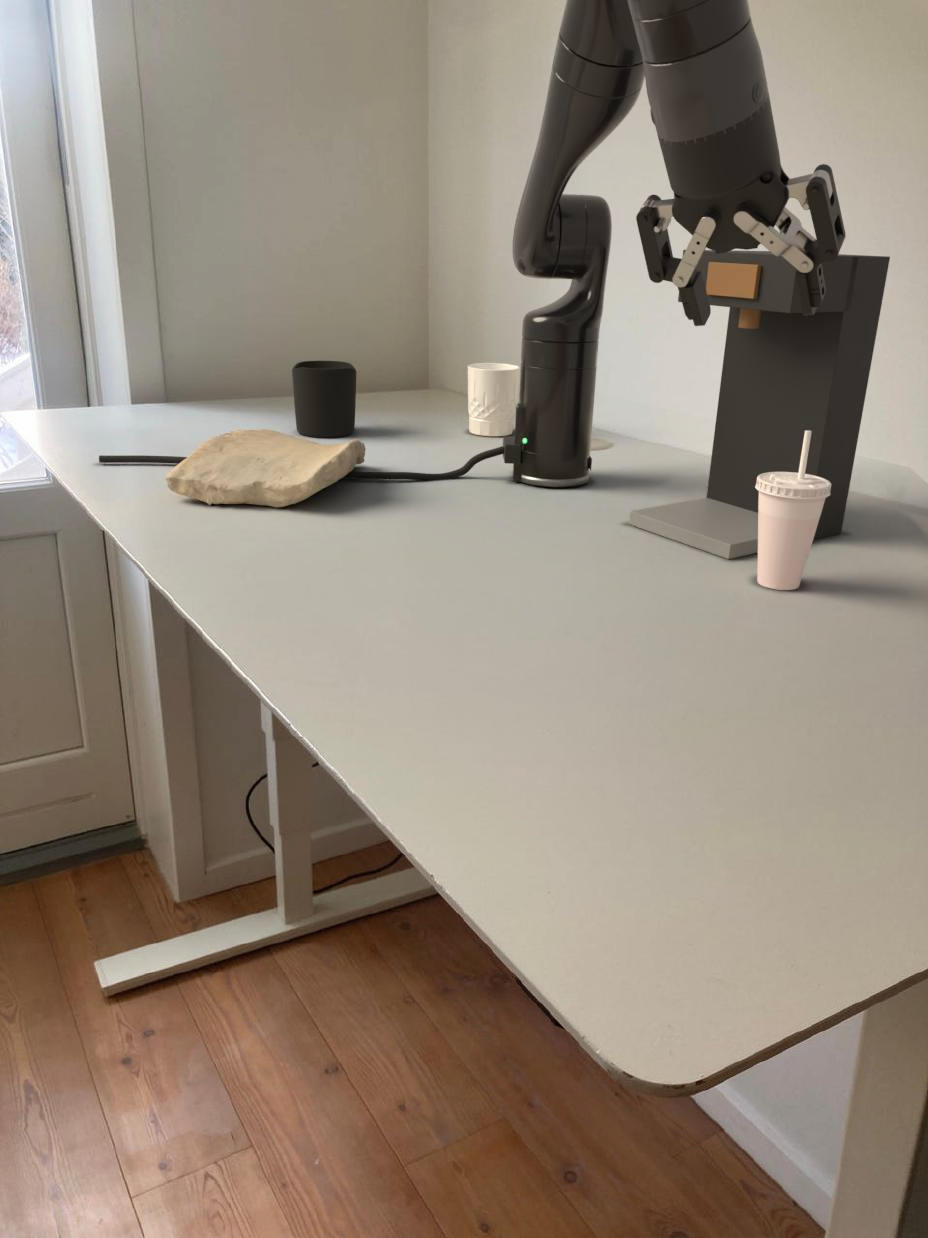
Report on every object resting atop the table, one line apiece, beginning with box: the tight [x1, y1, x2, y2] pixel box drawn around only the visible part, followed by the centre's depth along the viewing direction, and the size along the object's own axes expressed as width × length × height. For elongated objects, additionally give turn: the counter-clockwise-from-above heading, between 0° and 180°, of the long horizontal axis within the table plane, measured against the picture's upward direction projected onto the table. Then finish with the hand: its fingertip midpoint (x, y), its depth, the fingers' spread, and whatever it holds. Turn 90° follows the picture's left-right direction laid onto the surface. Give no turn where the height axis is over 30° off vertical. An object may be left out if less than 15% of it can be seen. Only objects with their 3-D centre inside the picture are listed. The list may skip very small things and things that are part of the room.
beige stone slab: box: [165, 428, 366, 508], centre depth 118 cm, size 24×8×20 cm
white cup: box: [467, 362, 521, 437], centre depth 151 cm, size 8×8×10 cm
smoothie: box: [755, 430, 831, 591], centre depth 88 cm, size 6×6×14 cm
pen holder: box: [291, 360, 357, 439], centre depth 147 cm, size 9×9×10 cm
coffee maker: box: [628, 249, 891, 560], centre depth 102 cm, size 18×14×28 cm
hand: (755, 314), depth 77 cm, fingers open, 8 cm apart
